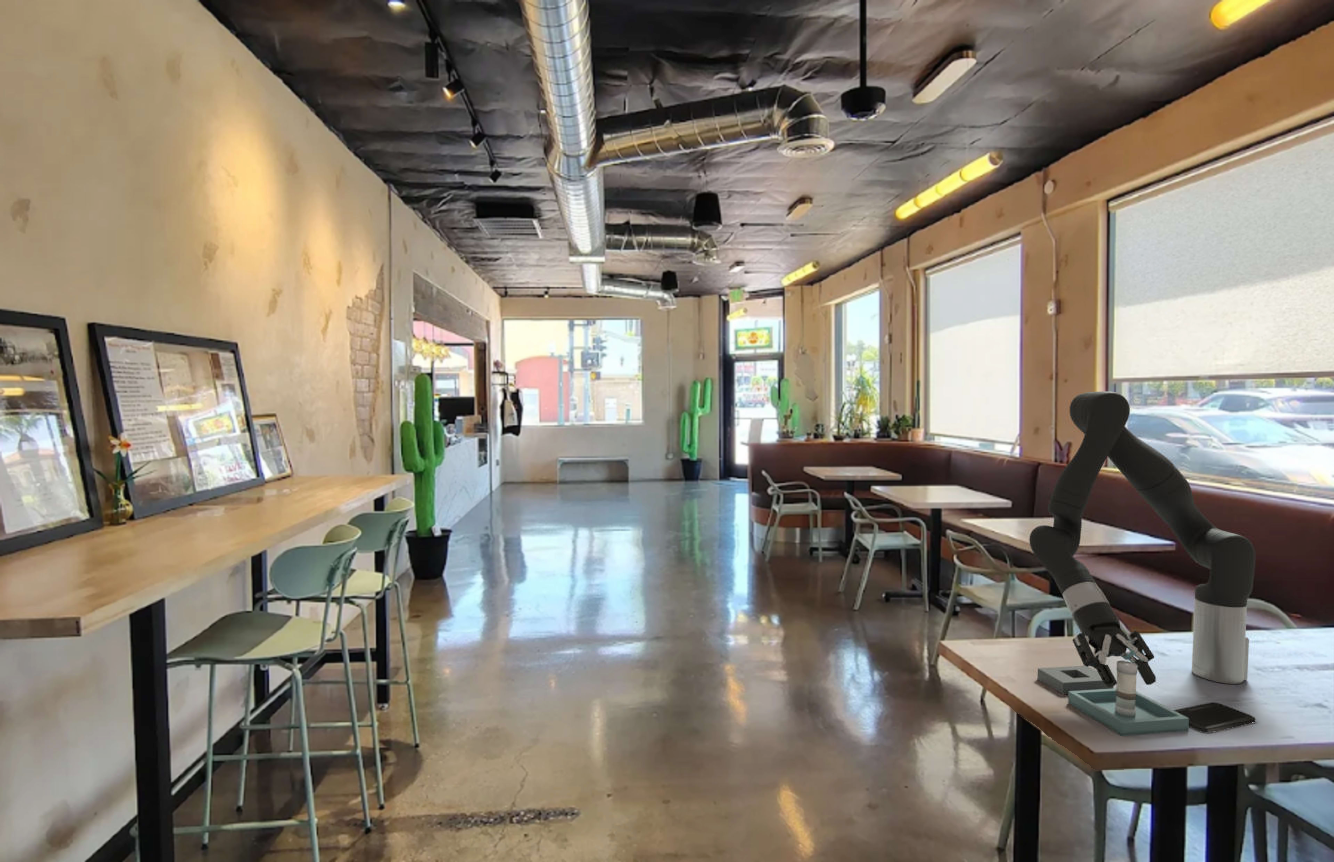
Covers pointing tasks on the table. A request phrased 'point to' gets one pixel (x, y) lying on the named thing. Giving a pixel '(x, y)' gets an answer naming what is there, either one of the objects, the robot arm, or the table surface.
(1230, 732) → the table surface
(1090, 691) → the parts tray
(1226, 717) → the phone
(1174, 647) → the table surface
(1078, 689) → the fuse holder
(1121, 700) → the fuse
